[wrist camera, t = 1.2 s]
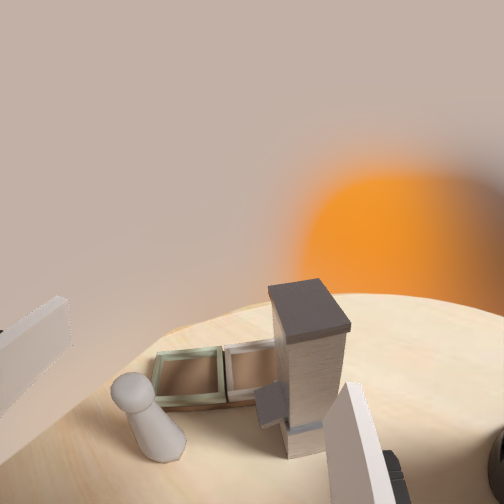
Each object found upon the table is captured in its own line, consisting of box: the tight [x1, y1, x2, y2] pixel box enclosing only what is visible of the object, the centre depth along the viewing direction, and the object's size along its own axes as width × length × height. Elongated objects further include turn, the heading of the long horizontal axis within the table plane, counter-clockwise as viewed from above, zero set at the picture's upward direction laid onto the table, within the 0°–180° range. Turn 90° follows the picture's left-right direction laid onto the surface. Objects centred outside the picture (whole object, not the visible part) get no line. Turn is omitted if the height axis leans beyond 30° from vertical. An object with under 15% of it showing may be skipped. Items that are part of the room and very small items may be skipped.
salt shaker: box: [111, 372, 186, 464], centre depth 24 cm, size 6×6×13 cm
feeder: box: [254, 278, 351, 459], centre depth 25 cm, size 8×8×19 cm
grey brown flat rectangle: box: [151, 338, 277, 412], centre depth 38 cm, size 22×11×2 cm, turn 97°
